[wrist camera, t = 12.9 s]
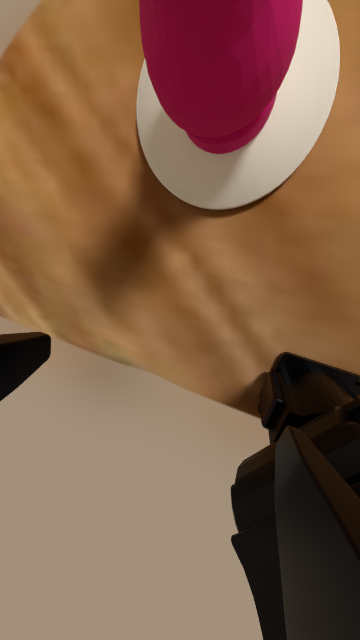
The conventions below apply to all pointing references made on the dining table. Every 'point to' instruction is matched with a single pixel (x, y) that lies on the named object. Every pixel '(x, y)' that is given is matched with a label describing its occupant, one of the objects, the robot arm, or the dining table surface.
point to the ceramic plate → (269, 144)
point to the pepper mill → (219, 64)
